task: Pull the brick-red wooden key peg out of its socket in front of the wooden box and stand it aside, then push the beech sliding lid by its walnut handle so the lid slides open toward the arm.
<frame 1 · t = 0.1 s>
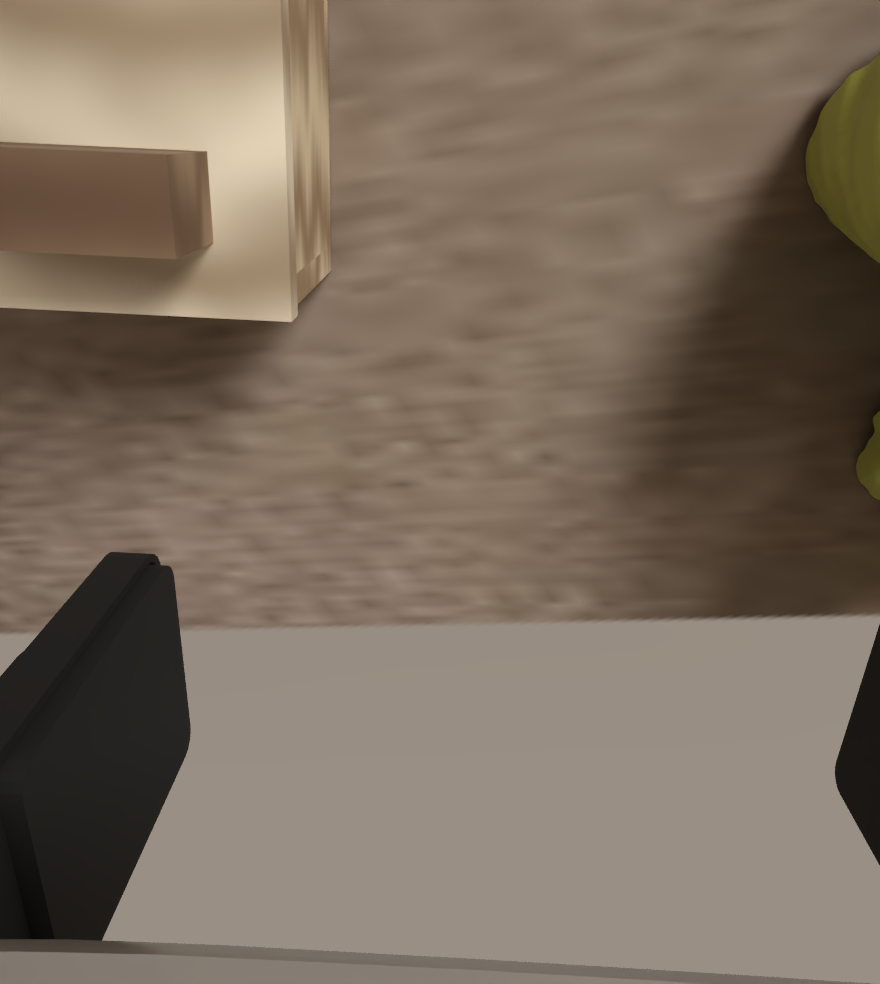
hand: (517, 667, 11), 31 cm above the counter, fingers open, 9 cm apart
wooden box: (179, 29, 35), on the counter
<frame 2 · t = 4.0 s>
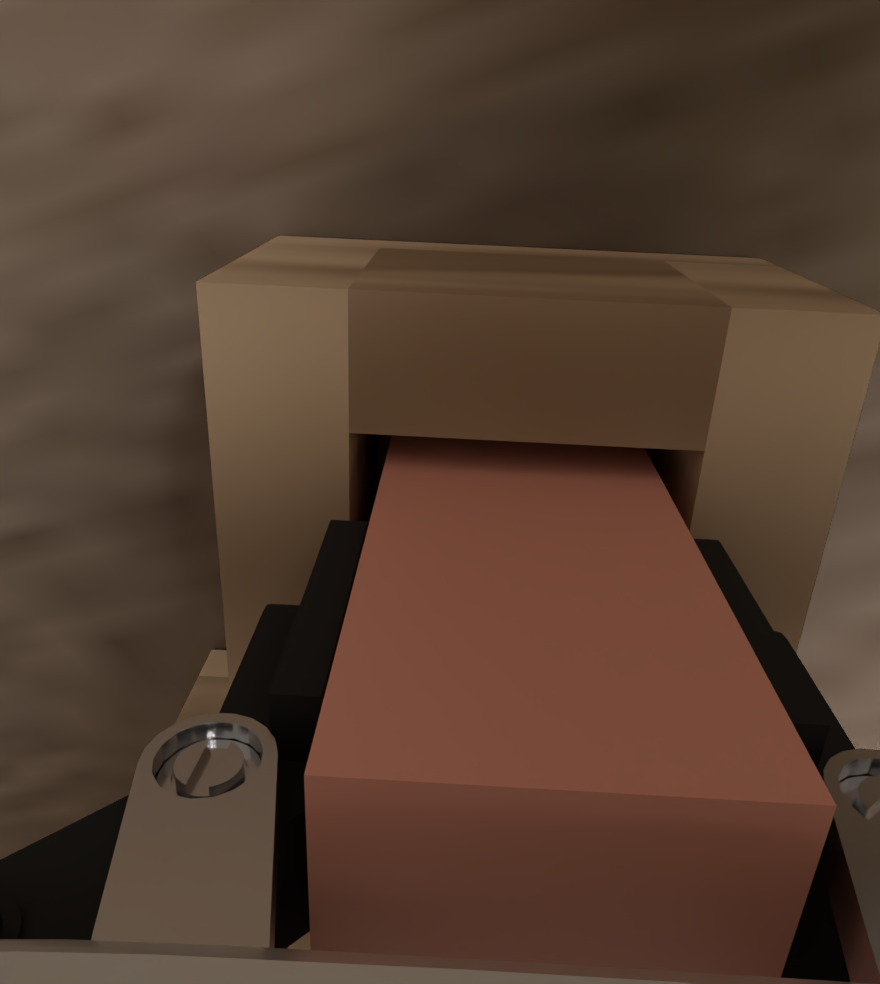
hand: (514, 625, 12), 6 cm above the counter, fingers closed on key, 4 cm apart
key: (502, 488, 16), point 1 cm above the counter, touching gripper, wooden box
wooden box: (463, 950, 23), on the counter
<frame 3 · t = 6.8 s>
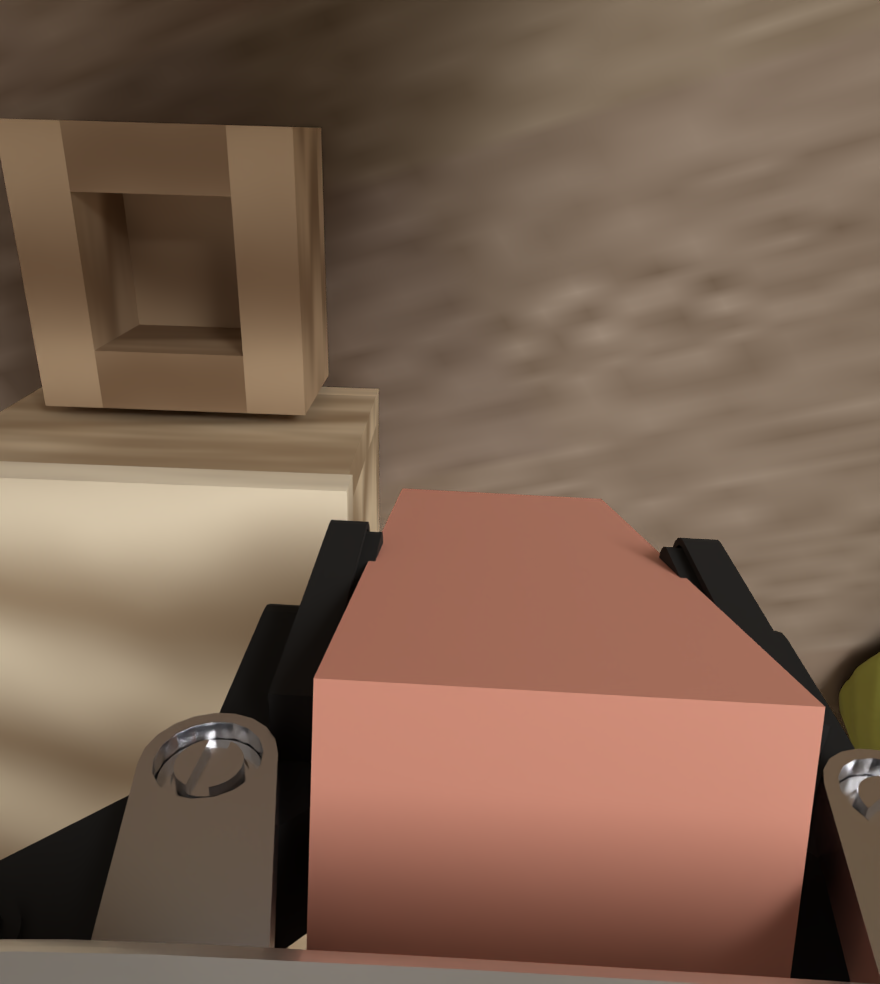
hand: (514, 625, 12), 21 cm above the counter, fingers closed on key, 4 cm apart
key: (495, 590, 16), point 17 cm above the counter, tilted 15°, touching gripper
lid: (138, 792, 26), point 12 cm above the counter, slide at 0.0 cm
wooden box: (236, 595, 37), on the counter
when the fingers open (7 cm above the counter, at t = 9.9 s): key drops 2 cm, on the counter.
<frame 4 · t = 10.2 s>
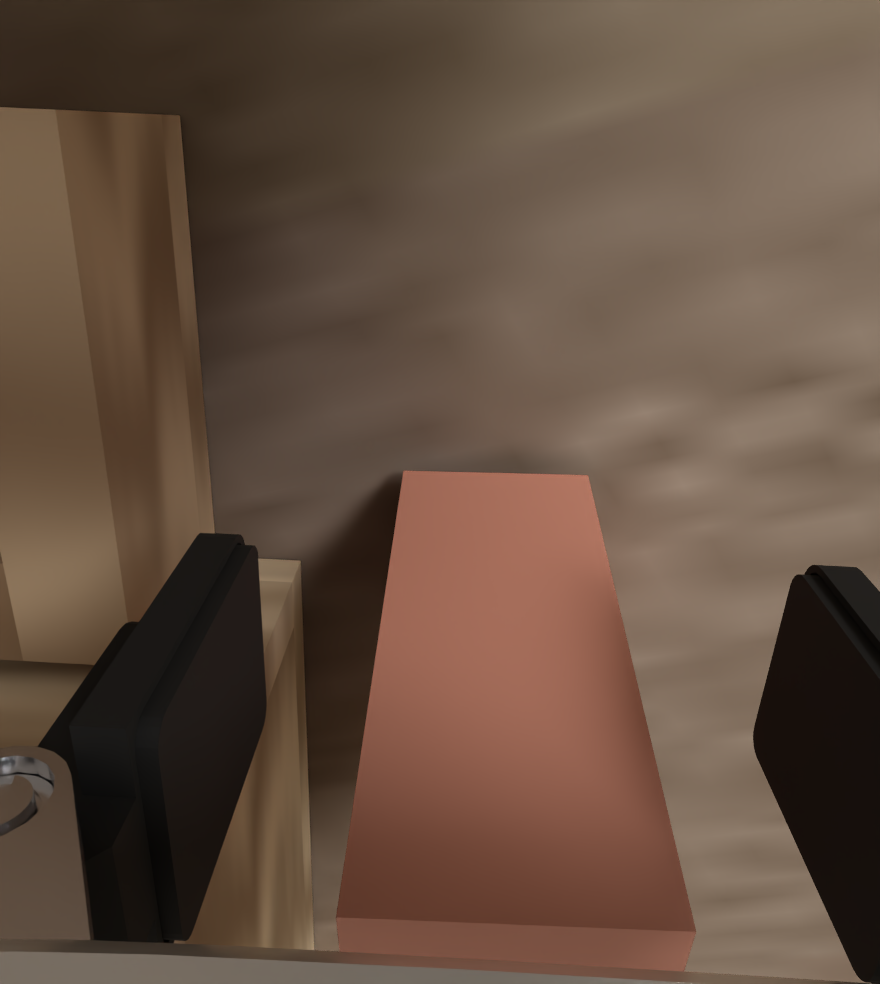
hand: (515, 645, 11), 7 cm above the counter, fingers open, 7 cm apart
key: (491, 548, 19), on the counter, tilted 7°
wooden box: (87, 850, 23), on the counter
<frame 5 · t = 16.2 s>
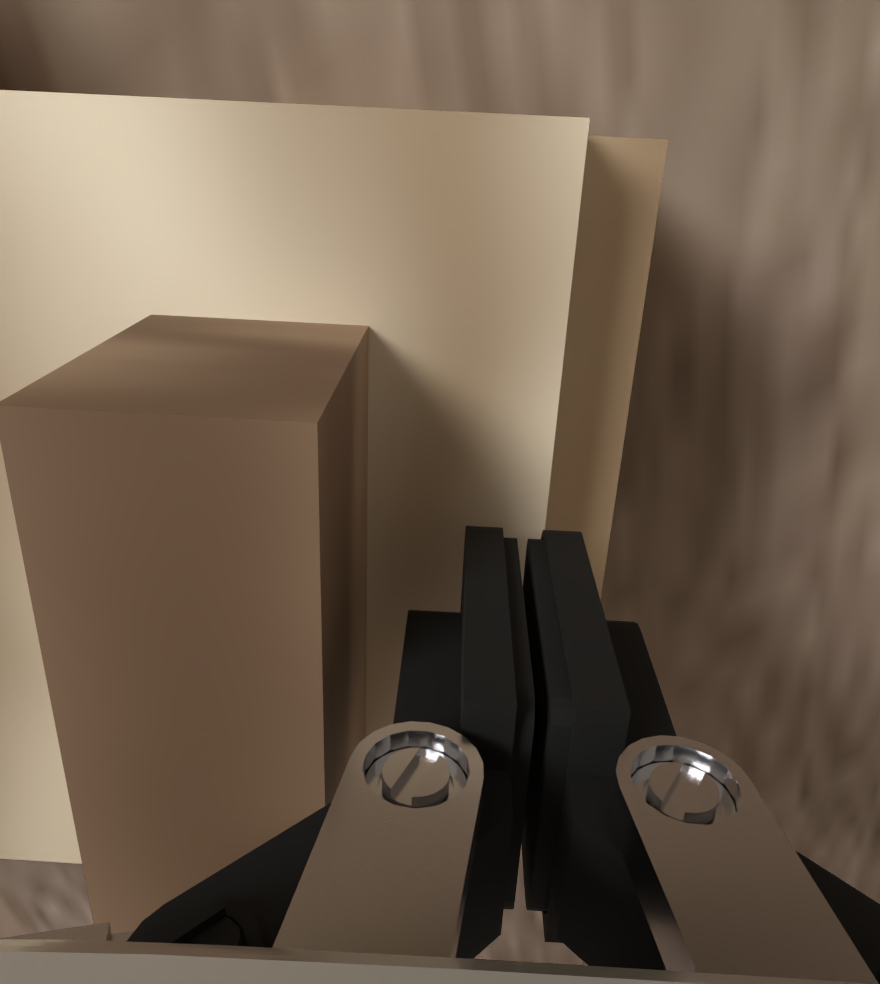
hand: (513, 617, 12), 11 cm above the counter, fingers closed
wooden box: (197, 374, 22), on the counter
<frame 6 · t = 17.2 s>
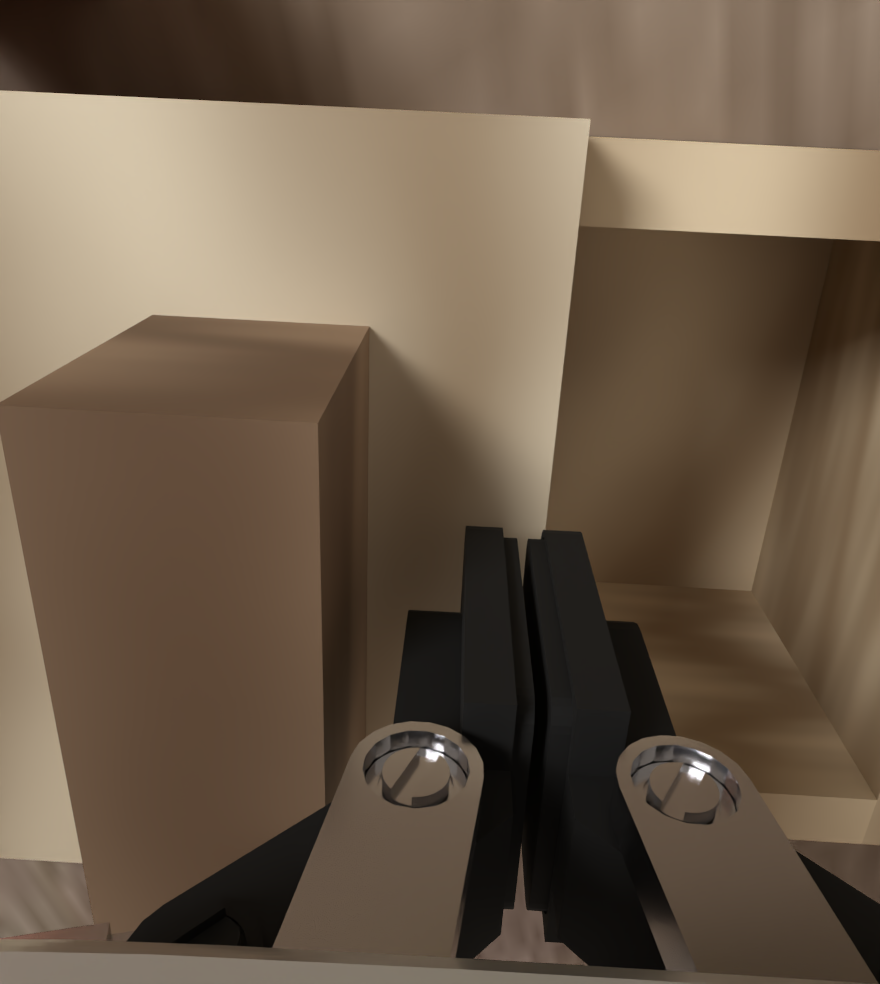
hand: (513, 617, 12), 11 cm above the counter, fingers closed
wooden box: (458, 388, 22), on the counter
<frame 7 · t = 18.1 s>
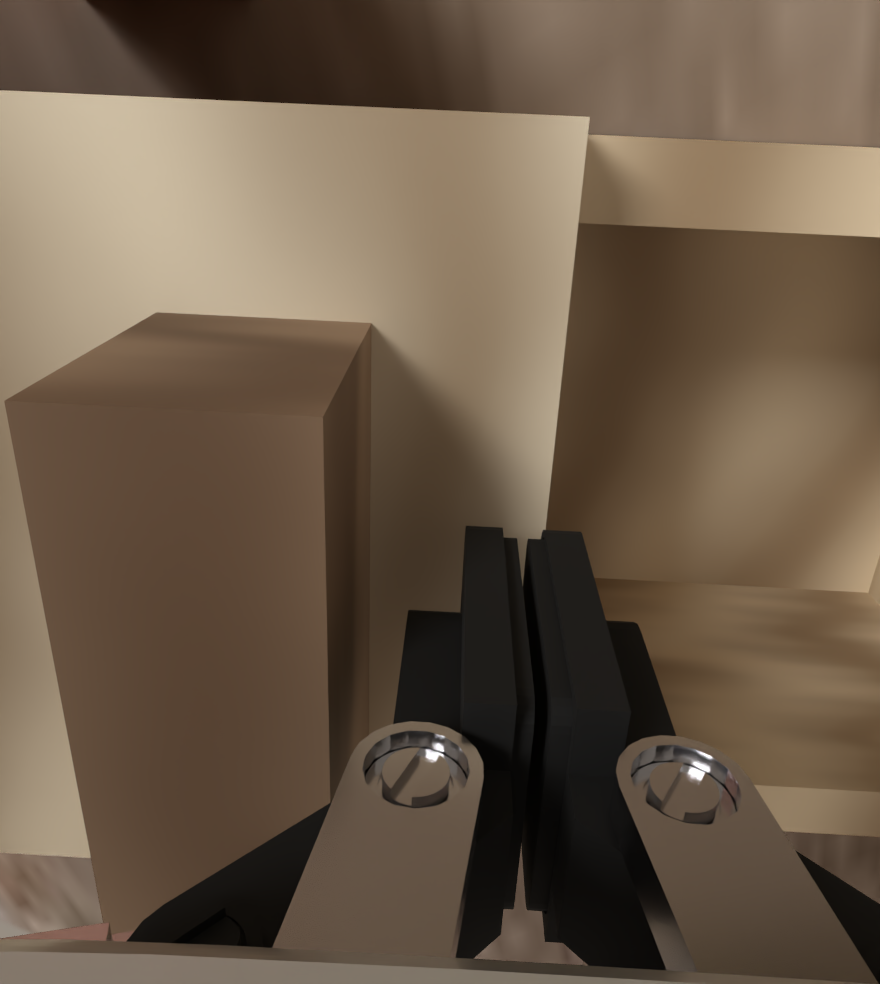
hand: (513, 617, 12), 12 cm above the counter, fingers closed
wooden box: (582, 392, 22), on the counter
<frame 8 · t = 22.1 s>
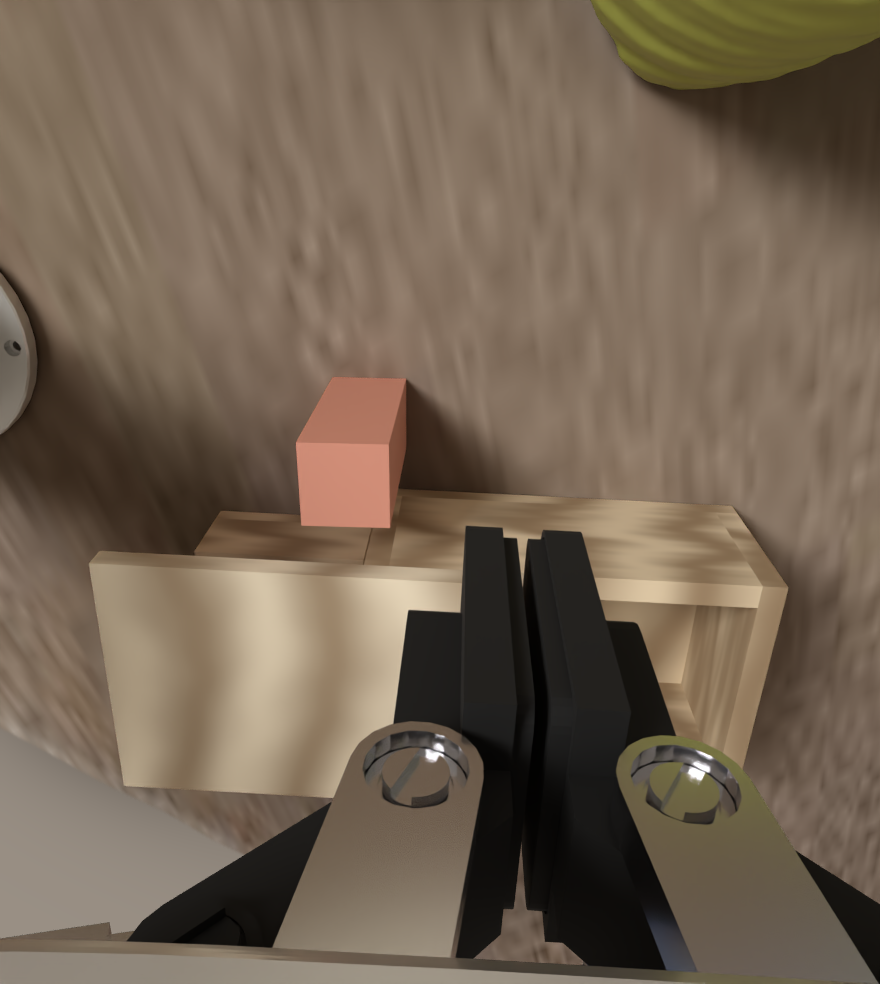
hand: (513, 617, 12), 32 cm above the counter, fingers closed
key: (370, 413, 44), on the counter
lid: (309, 712, 38), point 12 cm above the counter, slide at 12.2 cm
wooden box: (545, 594, 49), on the counter
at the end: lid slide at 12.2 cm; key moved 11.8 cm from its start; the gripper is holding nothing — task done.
